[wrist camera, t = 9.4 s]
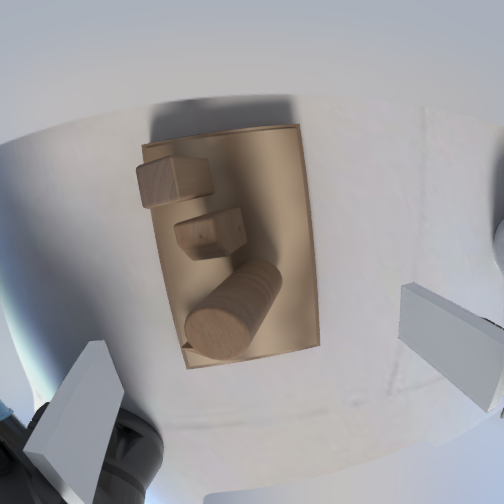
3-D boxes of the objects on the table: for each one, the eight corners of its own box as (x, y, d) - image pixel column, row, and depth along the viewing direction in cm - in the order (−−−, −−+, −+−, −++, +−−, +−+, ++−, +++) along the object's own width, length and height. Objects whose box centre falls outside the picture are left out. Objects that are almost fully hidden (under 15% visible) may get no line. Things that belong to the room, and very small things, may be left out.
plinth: (188, 352, 32) (186, 370, 29) (149, 149, 27) (141, 144, 24) (310, 331, 34) (320, 346, 30) (289, 130, 29) (299, 123, 25)
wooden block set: (169, 171, 27) (90, 175, 17) (258, 148, 24) (206, 133, 15) (211, 347, 30) (162, 409, 21) (294, 345, 28) (269, 421, 18)
